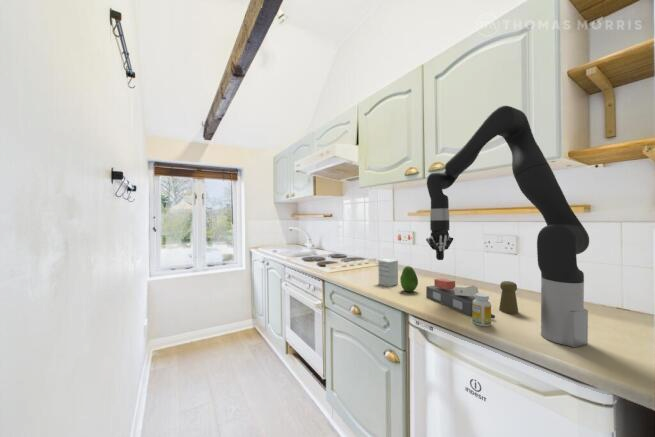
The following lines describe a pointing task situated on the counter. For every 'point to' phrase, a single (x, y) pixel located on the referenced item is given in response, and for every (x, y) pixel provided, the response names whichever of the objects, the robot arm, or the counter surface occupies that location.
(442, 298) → the power strip
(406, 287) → the avocado
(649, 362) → the counter surface
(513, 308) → the cork
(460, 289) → the rocker
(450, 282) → the rocker
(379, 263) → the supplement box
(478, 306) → the supplement bottle
